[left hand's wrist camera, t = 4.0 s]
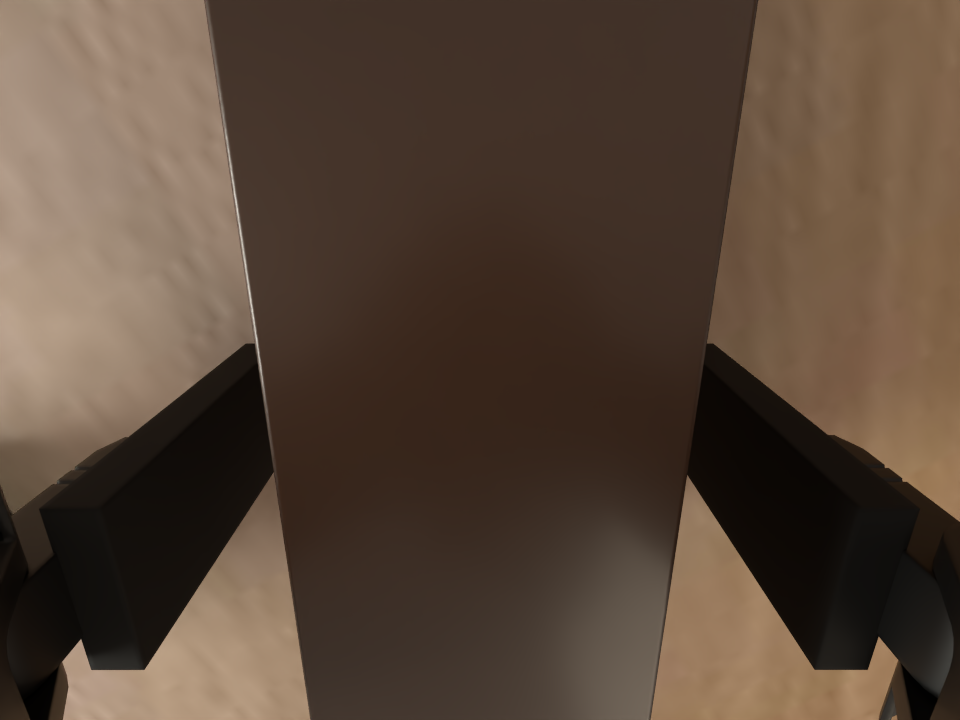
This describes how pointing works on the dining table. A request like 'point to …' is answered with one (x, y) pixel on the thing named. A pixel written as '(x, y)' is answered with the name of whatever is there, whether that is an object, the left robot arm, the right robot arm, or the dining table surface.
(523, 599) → the walnut block
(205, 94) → the dining table surface
